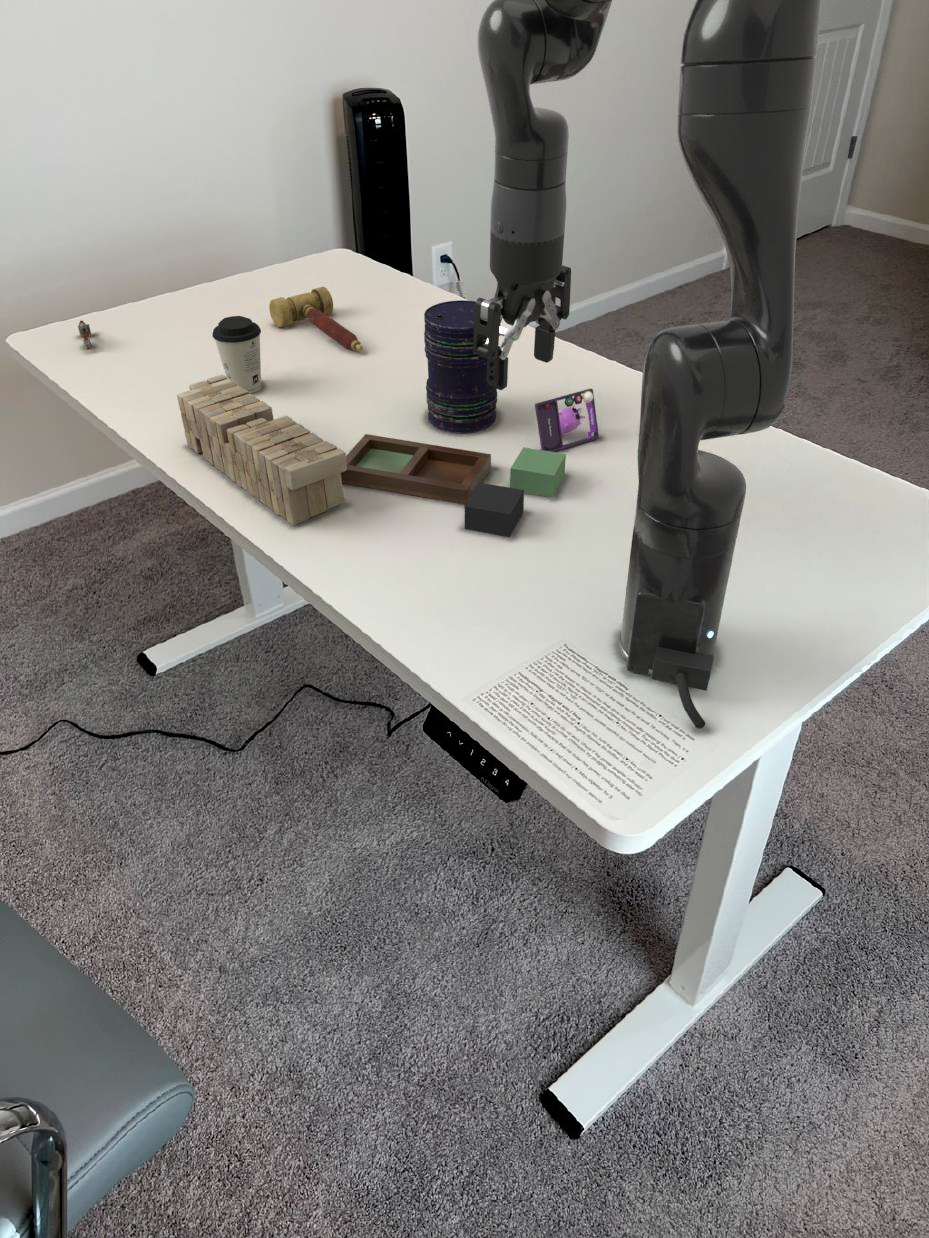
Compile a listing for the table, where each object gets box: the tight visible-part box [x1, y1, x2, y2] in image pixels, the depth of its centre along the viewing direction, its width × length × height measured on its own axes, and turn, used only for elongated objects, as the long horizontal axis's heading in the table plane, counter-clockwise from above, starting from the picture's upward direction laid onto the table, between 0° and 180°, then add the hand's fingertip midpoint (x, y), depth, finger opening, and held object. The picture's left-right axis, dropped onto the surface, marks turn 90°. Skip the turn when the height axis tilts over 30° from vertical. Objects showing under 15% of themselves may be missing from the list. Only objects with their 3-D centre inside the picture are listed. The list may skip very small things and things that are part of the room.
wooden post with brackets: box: [77, 320, 93, 351], centre depth 156 cm, size 2×8×4 cm, turn 21°
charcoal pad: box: [464, 482, 525, 538], centre depth 114 cm, size 6×6×3 cm
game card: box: [534, 388, 600, 452], centre depth 129 cm, size 7×5×9 cm
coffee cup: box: [212, 315, 262, 394], centre depth 141 cm, size 7×7×10 cm
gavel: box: [269, 286, 364, 352], centre depth 158 cm, size 21×5×10 cm
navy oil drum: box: [423, 299, 498, 435], centre depth 131 cm, size 10×10×15 cm
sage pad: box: [509, 447, 567, 498], centre depth 120 cm, size 6×6×3 cm
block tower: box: [176, 374, 347, 526], centre depth 122 cm, size 8×8×29 cm
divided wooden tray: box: [341, 433, 492, 506], centre depth 123 cm, size 9×18×2 cm, turn 71°
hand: (520, 373), depth 108 cm, fingers open, 8 cm apart
